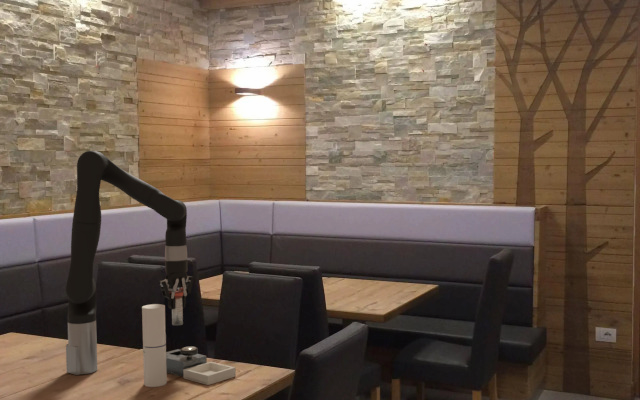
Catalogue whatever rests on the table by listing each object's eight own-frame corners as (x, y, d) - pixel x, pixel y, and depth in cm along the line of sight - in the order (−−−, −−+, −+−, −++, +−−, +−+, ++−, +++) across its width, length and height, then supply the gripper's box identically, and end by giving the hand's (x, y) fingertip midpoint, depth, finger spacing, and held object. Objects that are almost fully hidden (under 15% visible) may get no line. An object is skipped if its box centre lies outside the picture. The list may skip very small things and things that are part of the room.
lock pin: (176, 326, 250) (176, 293, 250) (168, 324, 253) (167, 292, 253) (186, 324, 254) (186, 291, 253) (178, 322, 257) (177, 290, 256)
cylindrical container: (155, 388, 231) (153, 309, 230) (139, 384, 235) (137, 307, 234) (171, 382, 237) (169, 305, 236) (155, 379, 241) (153, 303, 240)
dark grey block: (183, 377, 243) (183, 352, 242) (155, 369, 252) (154, 345, 252) (206, 370, 250) (206, 346, 250) (178, 363, 260) (177, 340, 259)
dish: (208, 385, 234) (208, 375, 233) (183, 378, 241) (183, 369, 241) (235, 376, 243) (235, 367, 243) (211, 370, 250) (210, 361, 250)
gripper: (185, 255, 260) (186, 303, 261) (152, 259, 249) (153, 310, 250) (199, 257, 255) (200, 306, 256) (166, 261, 244) (167, 312, 245)
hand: (177, 307), depth 253 cm, fingers closed on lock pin, 4 cm apart
